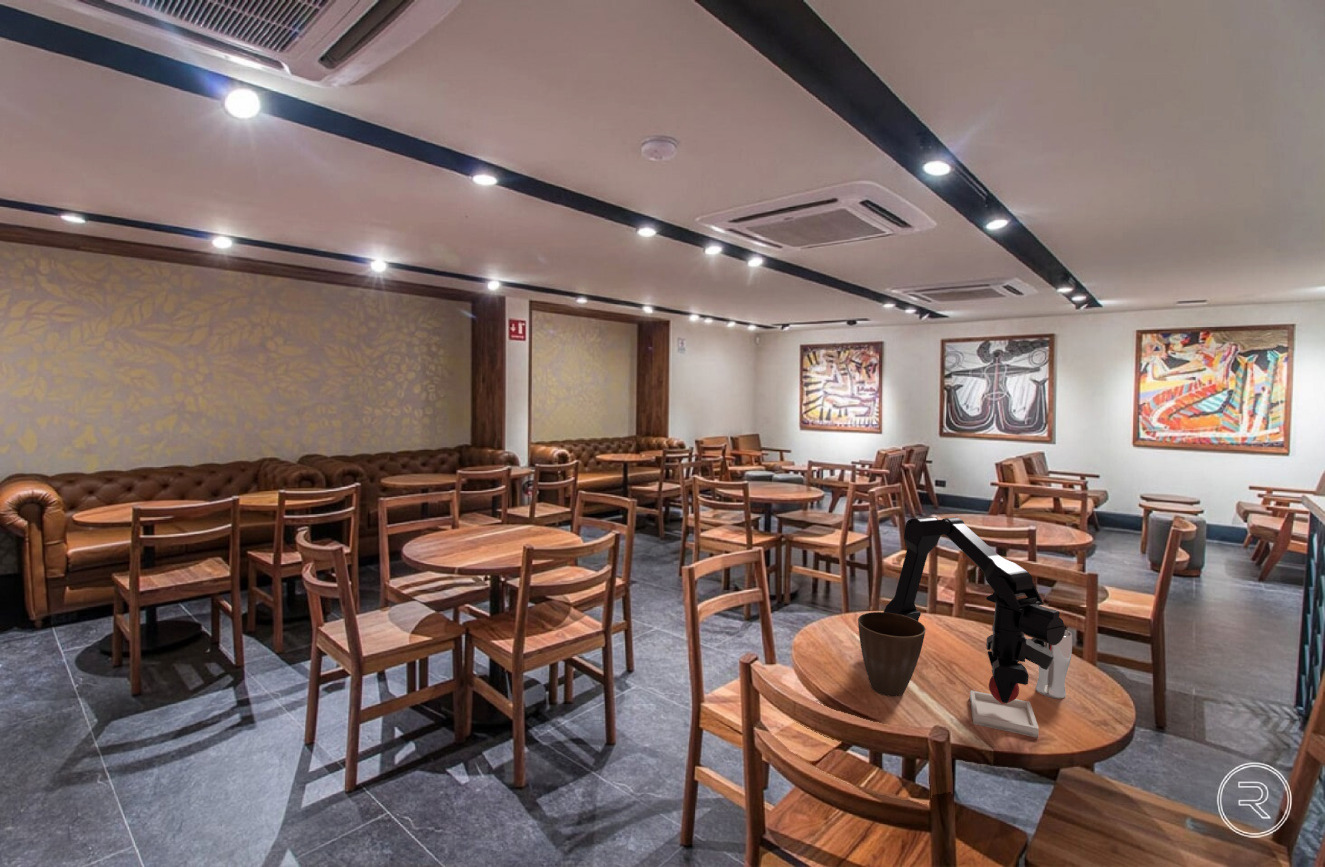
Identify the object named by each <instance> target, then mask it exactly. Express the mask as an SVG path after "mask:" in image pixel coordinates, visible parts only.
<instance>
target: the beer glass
mask: <svg viewBox="0 0 1325 867" xmlns="http://www.w3.org/2000/svg"><path fill="white" fill-rule="evenodd" d="M1044 644H1045V647H1048V649H1049V650H1050V651H1051V652H1052V654H1053V656H1054V658H1053V660H1052V662H1051V664H1050V665H1049V667H1048V669H1047V670H1045V669H1043V668H1041V667H1040V666H1039V665H1037V666H1038V678H1037V681H1036V685H1035V691H1036V692H1038V693H1039V694H1040V695H1043V696H1045V697H1048V698H1051V699H1058V700H1059V699H1064V698H1066V696H1067V692H1066V677H1067V672H1068V671H1069V667H1070V664H1071V660H1072V653H1073V633H1072V632H1071V631H1069V630H1067V629H1065V633H1064V636H1063V638H1062V640H1061V641H1060V642H1059V643H1058V644H1057V645H1050V644H1048V643H1046V642H1044Z"/></svg>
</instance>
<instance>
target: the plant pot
mask: <svg viewBox="0 0 1325 867" xmlns="http://www.w3.org/2000/svg"><path fill="white" fill-rule="evenodd" d="M857 625H858V626H857V627H858V635H859V643H860V648H861V656H862V658H863V663H864V667H865V672H866V676H867V678H868V681H869V684H870V687H871V689H872V690H873V691H874V692H875V693H877V694H880V695H883V696H886V697H900V696H902V695H903V694H904V693H905V691H906V689H907V688H908V686H909V684H910V681H911V679H912V678H913V674H914V672H915V670H916V667H917V666H918V665H917V664H918V661H919V658H920V656H921V651H922V649H923V648H922V647H923V644H924V639H925V635H926V627H925V626H924V624H923V623H921V621H919V620H918V621H917V620H915V619H912V618H910V617H907V616H903V615H899V614H894V613H887V612H883V611H873V612H866V613H863V614H861V615H860V616H858V618H857Z"/></svg>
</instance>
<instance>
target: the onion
mask: <svg viewBox="0 0 1325 867" xmlns="http://www.w3.org/2000/svg"><path fill="white" fill-rule="evenodd" d="M988 690H989V692H990V694H992V695H993V697H994V698H995V699H996V700H997V701H999V702H1000V703H1001V704H1006V703H1003V702H1002V701H1001V698H1000V695H999V692H998V689H997V686H996V683H995V680H994V677H993V675H992V676H991V677H990V679H989V683H988ZM1019 695H1020V685H1019V684H1018V683H1017V684H1016V685H1015V687H1014V689H1013V691H1012V694H1011V696H1010V698H1009V701H1008V703H1009V702H1011V701H1013V700H1015V699H1017V698H1018V697H1019Z"/></svg>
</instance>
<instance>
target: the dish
mask: <svg viewBox="0 0 1325 867" xmlns="http://www.w3.org/2000/svg"><path fill="white" fill-rule="evenodd" d="M969 703H970V710H971V718H972V724H973V725H975V726H981V727H985V728H990V729H995V730H999V731H1005V732H1008V733H1013V734H1018V735H1024V736H1028V737H1032V738H1036V739H1037V738H1038V739H1039V734H1040V733H1039V730H1040V727H1039V726H1038V722H1037V718H1036V716H1035V712H1034V709H1033V707H1032V703H1031V702H1030V701H1027V700H1022V699H1017V698H1016V699H1015V700H1013V701H1011V702H1009V703H1006V704H1001V703H1000V702H999V701H997V700H996V699H995V698H994V697H993V695H992V694H991V693H987V692H981V691H976V690H972V689H971V690H970V691H969Z"/></svg>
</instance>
